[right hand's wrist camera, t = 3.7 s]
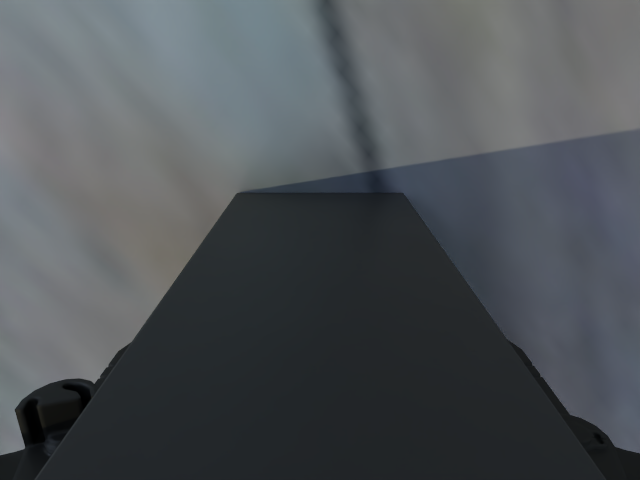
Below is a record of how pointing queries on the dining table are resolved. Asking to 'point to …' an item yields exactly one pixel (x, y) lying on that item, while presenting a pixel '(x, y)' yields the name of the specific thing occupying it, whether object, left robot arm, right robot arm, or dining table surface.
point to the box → (320, 362)
